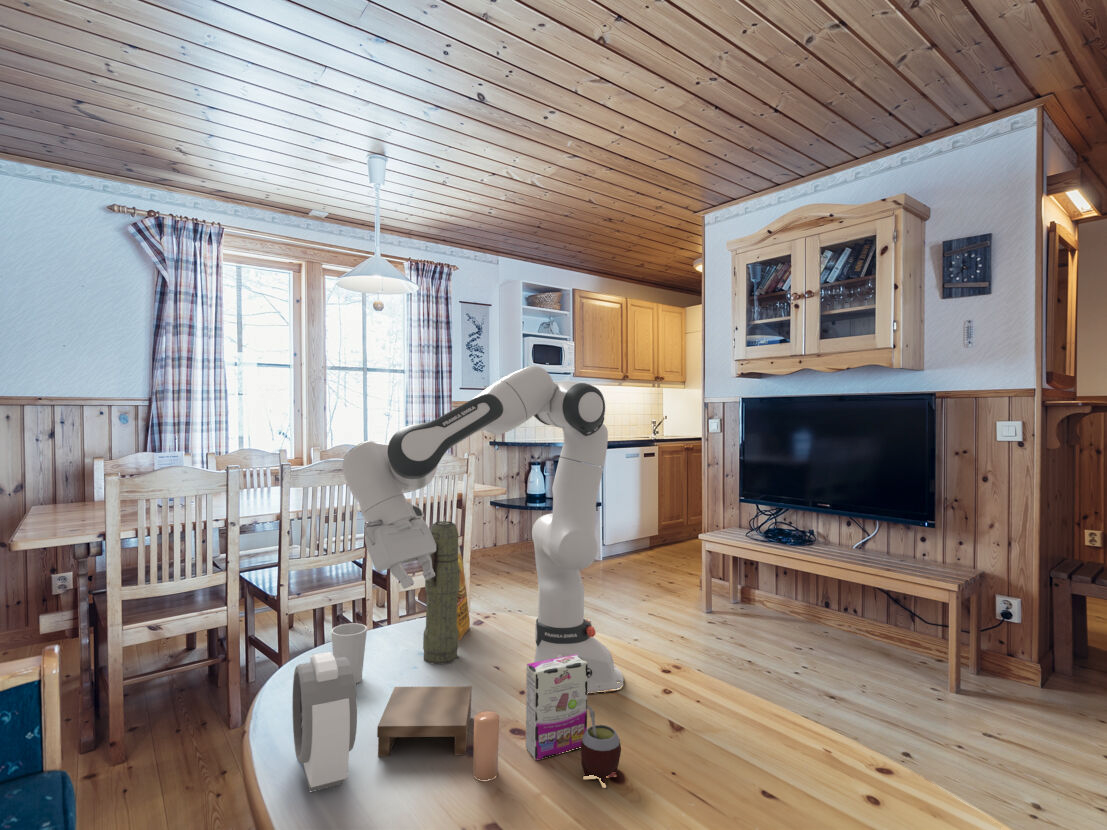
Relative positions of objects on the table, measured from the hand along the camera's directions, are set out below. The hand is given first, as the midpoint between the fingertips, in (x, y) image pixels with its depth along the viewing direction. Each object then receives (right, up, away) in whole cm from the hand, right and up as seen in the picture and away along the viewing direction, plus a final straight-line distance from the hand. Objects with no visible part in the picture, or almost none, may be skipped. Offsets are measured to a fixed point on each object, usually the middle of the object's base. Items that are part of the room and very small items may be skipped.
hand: (420, 582), depth 116 cm
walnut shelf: (+1, -31, +2) cm, 31 cm away
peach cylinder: (+14, -31, -10) cm, 35 cm away
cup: (-23, -30, +26) cm, 46 cm away
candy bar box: (+26, -32, -1) cm, 41 cm away
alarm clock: (-15, -31, -11) cm, 36 cm away
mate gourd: (+34, -32, -11) cm, 48 cm away
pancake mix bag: (-3, -31, +57) cm, 65 cm away
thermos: (-4, -31, +40) cm, 51 cm away
